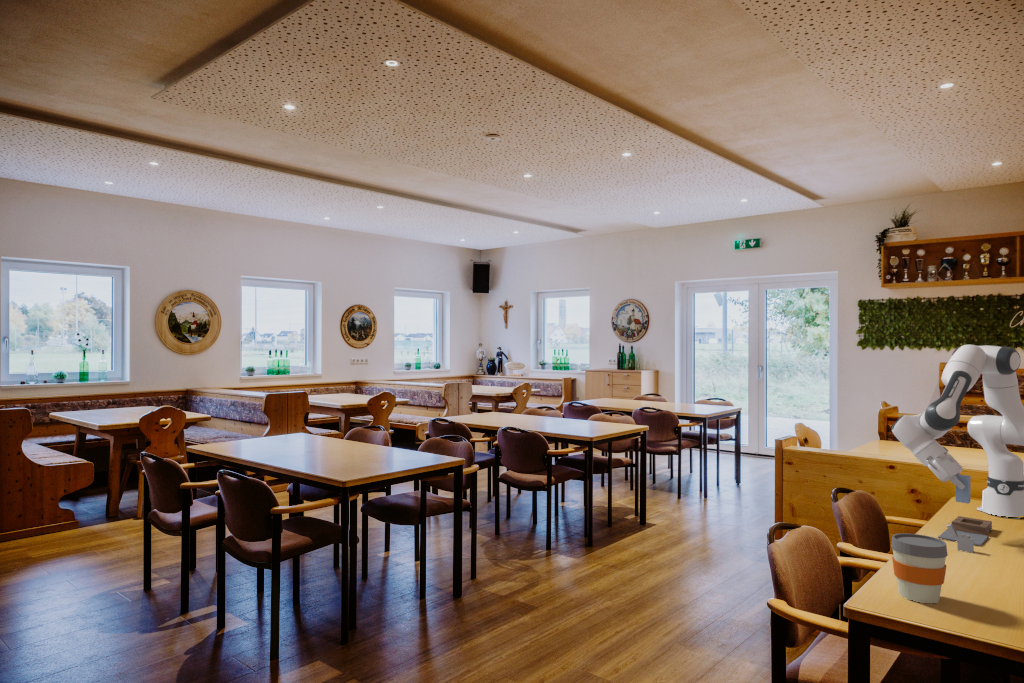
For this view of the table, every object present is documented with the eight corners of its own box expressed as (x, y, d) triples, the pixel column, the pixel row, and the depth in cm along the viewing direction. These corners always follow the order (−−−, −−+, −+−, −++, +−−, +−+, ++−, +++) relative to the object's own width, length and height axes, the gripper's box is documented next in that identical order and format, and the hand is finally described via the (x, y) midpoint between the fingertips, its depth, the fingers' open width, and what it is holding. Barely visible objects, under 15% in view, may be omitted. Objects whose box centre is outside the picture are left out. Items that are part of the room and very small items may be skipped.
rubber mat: (947, 530, 230) (947, 528, 230) (988, 537, 221) (988, 536, 221) (938, 538, 220) (938, 536, 220) (980, 546, 211) (980, 544, 211)
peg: (958, 500, 223) (958, 474, 223) (970, 501, 220) (970, 475, 221) (955, 501, 221) (955, 475, 221) (968, 503, 218) (968, 477, 218)
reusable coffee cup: (895, 584, 176) (895, 530, 176) (950, 596, 168) (950, 539, 168) (887, 598, 166) (887, 540, 167) (944, 611, 158) (944, 550, 159)
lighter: (973, 551, 205) (973, 527, 206) (972, 553, 204) (972, 528, 204) (947, 546, 210) (947, 522, 211) (946, 548, 209) (946, 523, 209)
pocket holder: (958, 524, 238) (958, 516, 238) (991, 529, 231) (991, 521, 231) (951, 530, 230) (951, 522, 230) (985, 536, 223) (985, 527, 223)
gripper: (932, 452, 218) (967, 486, 211) (946, 446, 233) (978, 477, 226) (917, 464, 221) (951, 497, 214) (931, 457, 236) (963, 488, 229)
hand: (965, 487), depth 220 cm, fingers closed on peg, 4 cm apart
